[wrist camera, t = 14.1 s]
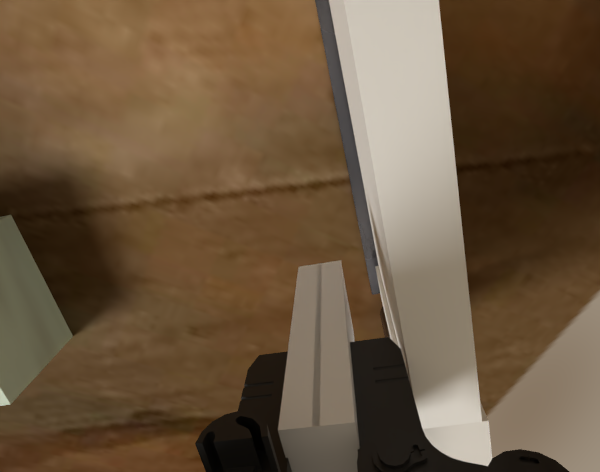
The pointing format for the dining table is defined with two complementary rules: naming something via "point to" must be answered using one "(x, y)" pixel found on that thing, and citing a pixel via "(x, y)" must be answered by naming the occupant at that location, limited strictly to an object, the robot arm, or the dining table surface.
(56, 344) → the pale green block
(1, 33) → the dining table surface
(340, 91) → the gate frame
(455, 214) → the gate
